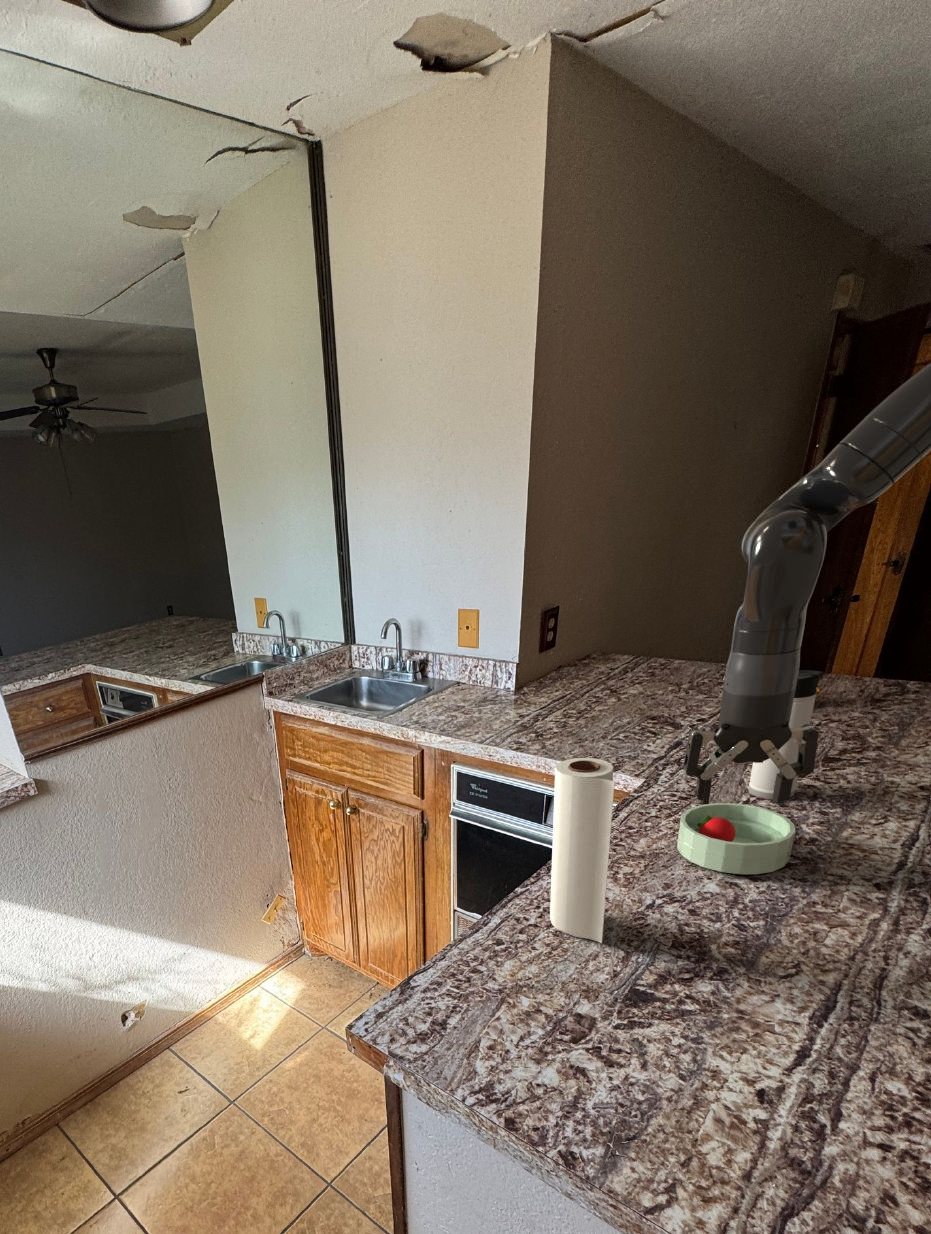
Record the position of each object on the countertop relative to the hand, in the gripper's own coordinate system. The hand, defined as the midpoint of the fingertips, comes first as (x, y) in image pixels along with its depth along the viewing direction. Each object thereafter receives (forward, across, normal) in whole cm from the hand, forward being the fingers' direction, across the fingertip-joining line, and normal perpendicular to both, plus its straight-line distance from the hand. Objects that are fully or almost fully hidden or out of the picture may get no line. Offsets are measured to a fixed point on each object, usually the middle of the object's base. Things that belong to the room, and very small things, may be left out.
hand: (740, 802), depth 88 cm
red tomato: (+6, -1, 0) cm, 7 cm away
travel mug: (+8, +10, +22) cm, 25 cm away
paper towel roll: (+8, -21, -21) cm, 31 cm away
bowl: (+8, 0, 0) cm, 8 cm away
